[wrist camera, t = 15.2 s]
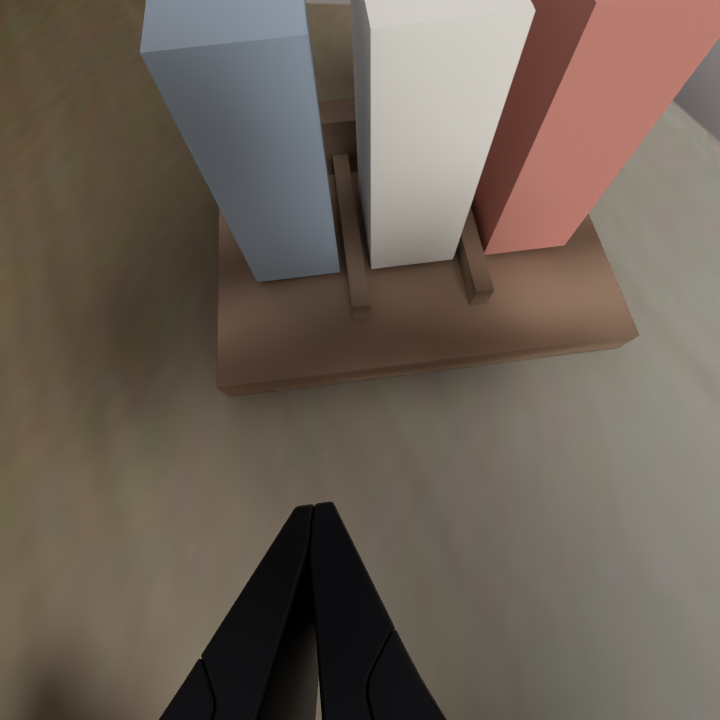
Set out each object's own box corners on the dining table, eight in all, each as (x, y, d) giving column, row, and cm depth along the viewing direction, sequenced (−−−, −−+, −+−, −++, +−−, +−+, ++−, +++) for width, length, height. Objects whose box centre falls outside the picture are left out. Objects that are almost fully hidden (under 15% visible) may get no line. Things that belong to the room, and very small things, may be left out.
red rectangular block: (564, 245, 19) (757, -15, 9) (483, 255, 19) (596, 2, 9) (535, 168, 20) (673, -116, 11) (461, 177, 20) (537, -102, 11)
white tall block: (452, 259, 19) (535, 10, 9) (370, 269, 19) (370, 28, 9) (433, 180, 20) (486, -96, 11) (358, 189, 20) (347, -81, 11)
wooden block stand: (619, 347, 19) (691, 302, 14) (228, 396, 18) (186, 364, 14) (541, 151, 23) (579, 72, 19) (228, 187, 23) (196, 116, 19)
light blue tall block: (340, 272, 18) (307, 34, 9) (257, 282, 18) (140, 52, 9) (330, 192, 20) (295, -77, 11) (254, 200, 20) (154, -62, 11)
